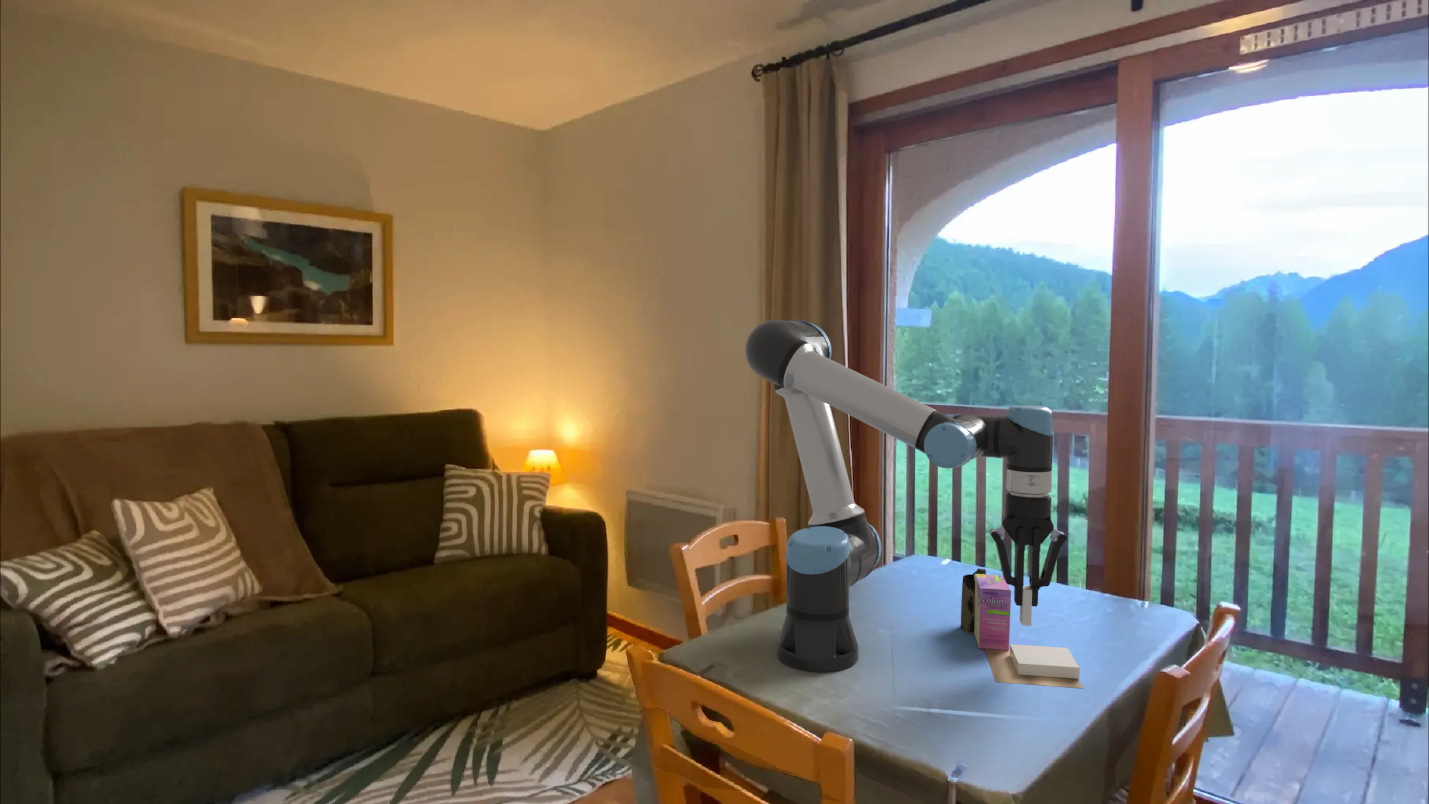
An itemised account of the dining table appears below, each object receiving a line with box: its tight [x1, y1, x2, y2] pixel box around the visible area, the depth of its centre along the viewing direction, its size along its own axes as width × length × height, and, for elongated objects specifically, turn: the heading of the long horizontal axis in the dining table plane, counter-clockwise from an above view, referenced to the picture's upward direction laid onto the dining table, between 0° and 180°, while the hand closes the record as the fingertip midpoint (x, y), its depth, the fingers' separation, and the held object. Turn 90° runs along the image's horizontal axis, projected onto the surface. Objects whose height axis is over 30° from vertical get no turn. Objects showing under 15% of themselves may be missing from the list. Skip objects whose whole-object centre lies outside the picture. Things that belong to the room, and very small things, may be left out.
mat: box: [983, 648, 1084, 689], centre depth 144 cm, size 14×16×1 cm
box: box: [973, 573, 1012, 651], centre depth 156 cm, size 10×6×12 cm, turn 168°
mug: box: [960, 568, 987, 635], centre depth 163 cm, size 8×6×12 cm
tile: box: [1009, 643, 1081, 680], centre depth 143 cm, size 2×9×10 cm
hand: (1025, 622), depth 143 cm, fingers closed
